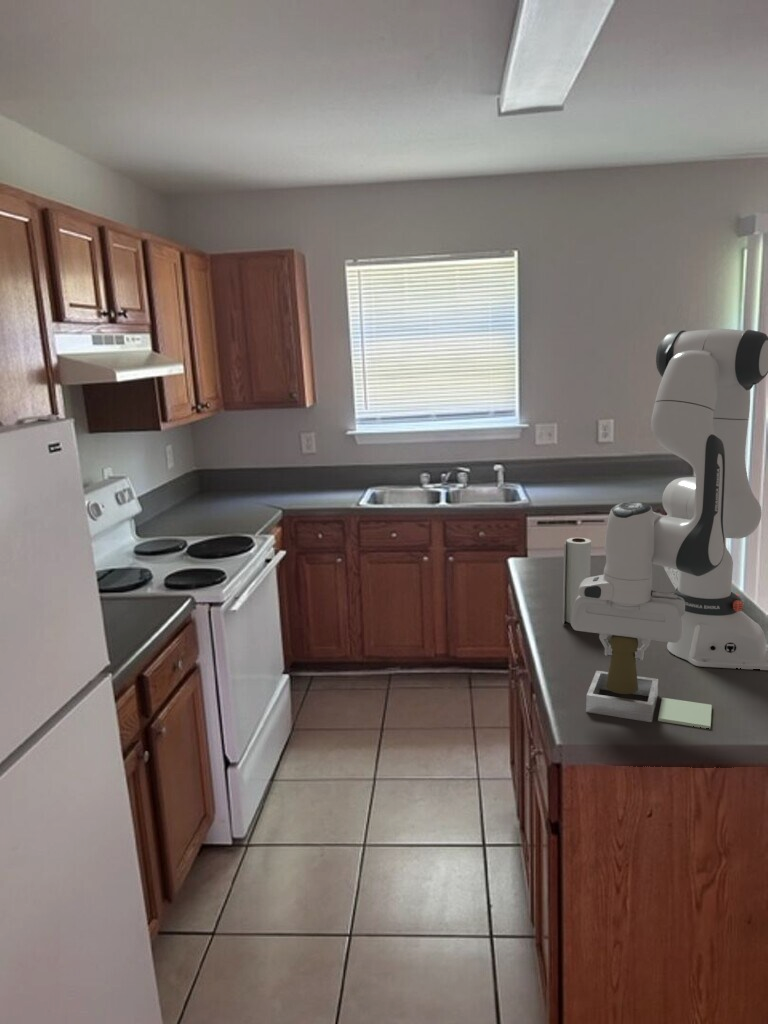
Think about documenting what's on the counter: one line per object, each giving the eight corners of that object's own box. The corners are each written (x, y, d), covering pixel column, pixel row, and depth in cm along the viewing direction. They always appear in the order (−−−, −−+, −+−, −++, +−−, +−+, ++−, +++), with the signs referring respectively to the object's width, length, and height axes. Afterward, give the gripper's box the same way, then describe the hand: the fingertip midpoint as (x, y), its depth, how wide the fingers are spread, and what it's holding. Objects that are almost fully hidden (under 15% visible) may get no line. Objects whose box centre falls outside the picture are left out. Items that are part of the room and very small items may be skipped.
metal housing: (657, 695, 153) (658, 679, 152) (651, 722, 142) (652, 705, 142) (595, 686, 158) (596, 670, 157) (586, 711, 147) (586, 695, 147)
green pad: (711, 707, 147) (711, 704, 147) (710, 729, 139) (710, 726, 139) (662, 700, 151) (662, 697, 151) (658, 720, 143) (658, 717, 143)
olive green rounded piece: (631, 680, 152) (634, 627, 150) (643, 693, 146) (645, 639, 144) (601, 681, 152) (603, 628, 150) (611, 694, 146) (614, 640, 144)
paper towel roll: (586, 616, 198) (588, 536, 193) (591, 625, 192) (593, 542, 187) (558, 617, 198) (559, 537, 193) (562, 625, 192) (564, 543, 188)
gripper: (687, 589, 144) (682, 658, 147) (576, 578, 152) (574, 643, 155) (685, 599, 138) (680, 671, 141) (570, 587, 146) (568, 655, 149)
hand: (623, 656), depth 148 cm, fingers closed on olive green rounded piece, 4 cm apart
